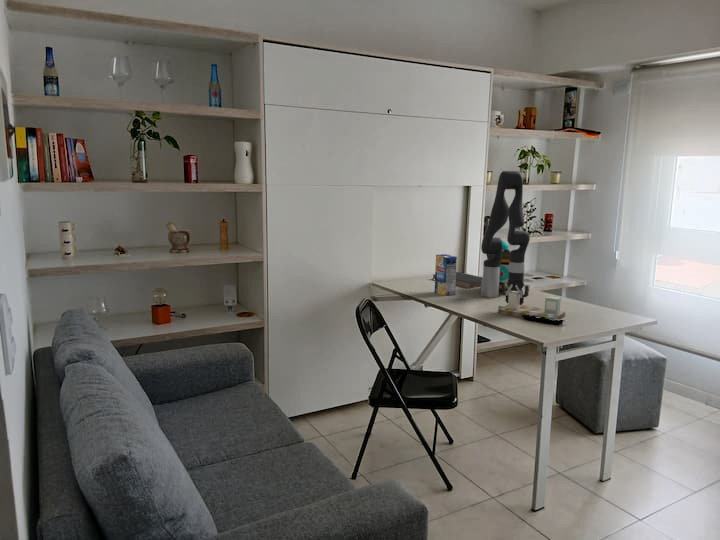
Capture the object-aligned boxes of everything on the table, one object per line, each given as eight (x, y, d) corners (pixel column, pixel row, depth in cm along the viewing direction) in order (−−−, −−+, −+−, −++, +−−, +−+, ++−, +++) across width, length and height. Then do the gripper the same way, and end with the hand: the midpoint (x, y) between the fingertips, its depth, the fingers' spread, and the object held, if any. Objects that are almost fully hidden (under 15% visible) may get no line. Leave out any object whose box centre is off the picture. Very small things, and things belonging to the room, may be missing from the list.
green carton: (544, 313, 269) (545, 297, 268) (547, 312, 273) (548, 296, 271) (556, 315, 266) (558, 299, 265) (559, 314, 269) (560, 297, 268)
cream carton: (512, 306, 284) (513, 290, 283) (520, 307, 282) (521, 291, 280) (507, 308, 279) (508, 292, 278) (515, 309, 277) (516, 293, 276)
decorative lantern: (482, 293, 321) (485, 242, 316) (481, 287, 340) (484, 238, 335) (518, 295, 317) (522, 243, 312) (515, 288, 337) (518, 239, 331)
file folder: (432, 274, 361) (459, 271, 375) (432, 280, 362) (458, 277, 375) (469, 282, 334) (497, 279, 348) (469, 289, 335) (496, 285, 349)
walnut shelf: (497, 313, 277) (498, 306, 277) (510, 307, 290) (510, 300, 290) (554, 322, 261) (555, 315, 260) (565, 315, 274) (565, 308, 273)
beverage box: (445, 296, 314) (446, 257, 310) (434, 292, 324) (435, 254, 320) (455, 295, 317) (456, 256, 313) (444, 291, 327) (445, 254, 323)
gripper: (499, 270, 278) (497, 303, 281) (527, 273, 270) (525, 307, 273) (505, 268, 284) (503, 300, 287) (533, 271, 276) (530, 304, 279)
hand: (514, 303), depth 280 cm, fingers open, 6 cm apart
